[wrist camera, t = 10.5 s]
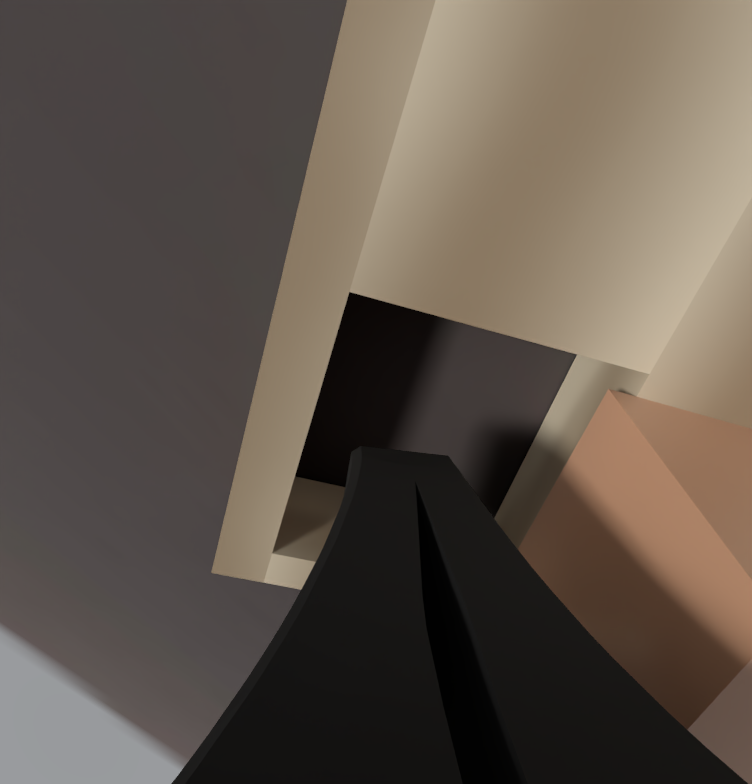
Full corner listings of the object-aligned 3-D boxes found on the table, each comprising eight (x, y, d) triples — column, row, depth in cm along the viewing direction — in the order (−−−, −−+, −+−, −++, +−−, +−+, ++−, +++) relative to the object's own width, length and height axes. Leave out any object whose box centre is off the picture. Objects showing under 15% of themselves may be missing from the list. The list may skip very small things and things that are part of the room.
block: (844, 454, 10) (1140, 700, 6) (699, 629, 12) (859, 897, 8) (608, 388, 9) (785, 623, 5) (496, 587, 11) (568, 859, 7)
